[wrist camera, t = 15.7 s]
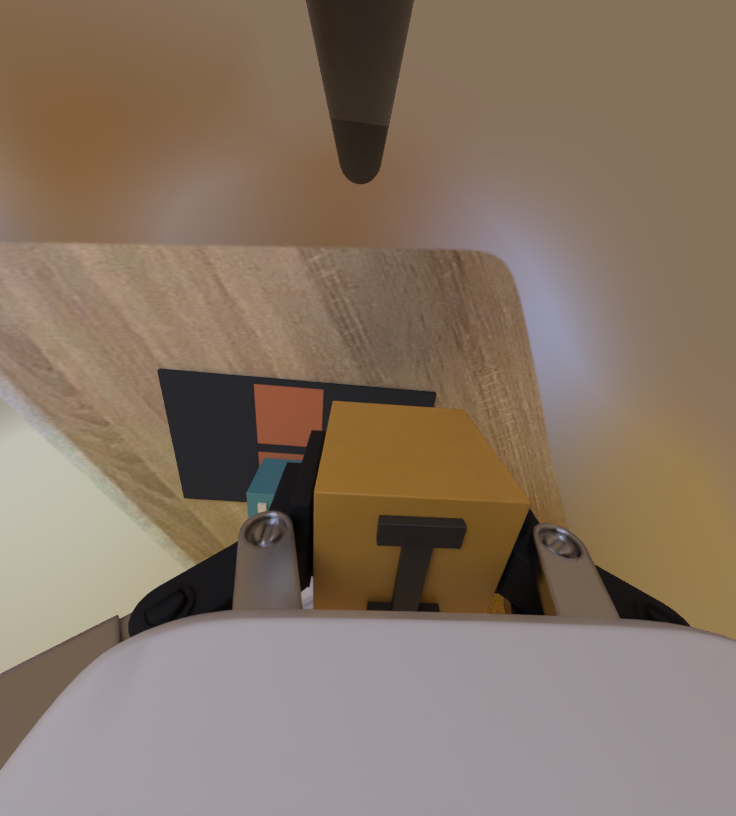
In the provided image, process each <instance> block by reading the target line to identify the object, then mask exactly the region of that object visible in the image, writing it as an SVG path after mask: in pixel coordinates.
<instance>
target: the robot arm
mask: <svg viewBox="0 0 736 816" xmlns="http://www.w3.org/2000/svg"><path fill="white" fill-rule="evenodd" d="M325 436H326V431H321V430H311V433H310V436H309V440H308V443H307V446H306V450H305V453H304V456H303V460H302V463H296V462H287V464H286V466H285V468H284V471H283V474H282V476H281V479H280V482H279V484H278V487H277V490H276V492H275V495H274V498H273V500H272V503H271V506H270V508H269V511H264V512H260V513H257V514H255V515H253V516H251V517H250V518H249V519H248V520H246V521H245V522H244V524H243V525H242V527H241V528H240V532H239V537H238V542H236V543H234V544H232V545H231V546H229V547H227V548H225V549H224V550H222V551H220V552H218V553H217V554H215V555H213V556H211V557H210V558H208V559H206V560H204V561H203V562H201V563H199V564H197V565H196V566H194V567H192V568H190V569H188V570H187V571H185V572H183V573H181V574H180V575H178V576H176V577H174V578H173V579H171V580H169V581H167V582H166V583H164V584H162V585H160V586H159V587H157V588H156V589H154V590H153V591H151V592H150V593H149V594H147V595H146V596H145V597H144V598H143V599H142V600H141V601H140V602H139V603H138V604H137V606H136V607H135V609H134V610H133V612H132V613H130V614H128V615H127V616H124V617H123V618H121V619H119V616H118V615H116V616H114V617H112V618H110V619H108V620H106V621H104V622H102V623H100V624H98V625H96V626H94V627H92V628H90V629H88V630H86V631H84V632H83V633H80V634H78V635H76V636H74V637H72V638H70V639H68V640H66V641H64V642H62V643H60V644H58V645H56V646H54V647H52V648H50V649H49V650H47V651H44V652H42V653H40V654H39V655H36V656H35V657H33V658H30V659H29V660H27V661H25V662H23V663H21V664H19V665H17V666H15V667H13V668H11V669H9V670H7V671H5V672H3V673H1V674H0V816H736V640H734V639H732V638H729V637H726V636H723V635H720V634H716V633H712V632H709V631H704V630H701V629H697V628H694V627H691V626H690V625H689V624H688V623H687V622H686V621H685V620H684V619H683V618H682V617H681V616H680V615H678V614H677V613H676V612H675V611H674V610H672V609H671V608H669V607H668V606H666V605H665V604H663V603H662V602H660V601H658V600H656V599H655V598H653V597H651V596H649V595H647V594H646V593H644V592H642V591H641V590H639V589H637V588H635V587H633V586H632V585H630V584H628V583H626V582H625V581H623V580H621V579H619V578H617V577H616V576H614V575H612V574H610V573H609V572H607V571H605V570H603V569H602V568H600V567H598V566H596V565H594V563H593V561H592V559H591V557H590V555H589V552H588V551H587V548H586V547H585V546H584V544H583V542H582V541H581V540H580V539H579V538H578V537H577V536H575V535H574V534H572V533H571V532H570V531H568V530H566V529H564V528H562V527H560V526H557V525H554V524H549V523H541V524H540V523H539V522H538V521H537V519H536V518H535V516H534V514H533V512H532V511H531V509H530V508H529V511H528V513H527V516H526V518H525V520H524V523H523V525H522V528H521V530H520V532H519V535H518V537H517V540H516V542H515V545H514V547H513V549H512V552H511V554H510V557H509V559H508V561H507V564H506V566H505V569H504V571H503V574H502V576H501V578H500V581H499V583H498V586H497V588H496V590H495V593H498V594H500V595H501V596H503V597H504V609H505V614H484V613H449V612H413V611H370V610H324V609H303V607H302V598H301V592H302V591H303V590H305V589H306V587H310V582H311V576H313V539H314V489H315V484H316V480H317V475H318V470H319V465H320V460H321V456H322V451H323V446H324V441H325Z"/></svg>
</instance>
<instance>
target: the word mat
mask: <svg viewBox="0 0 736 816" xmlns="http://www.w3.org/2000/svg"><path fill="white" fill-rule="evenodd" d="M157 371H158V376H159V380H160V385H161V390H162V395H163V399H164V404H165V409H166V414H167V419H168V423H169V428H170V433H171V438H172V442H173V447H174V452H175V457H176V461H177V466H178V471H179V476H180V480H181V485H182V490H183V495H184V498H190V499H207V500H224V501H240V502H247V495H246V493H247V491H248V489H249V487H250V485H251V483H252V481H253V479H254V477H255V475H256V473H257V471H258V469H259V467H260V465H261V463H262V461H263V459H264V458H271V459H286V460H300V461H302V460H303V456H304V453H305V450H306V446H307V443H308V440H309V436H310V433H311V430H321V431H327V427H328V422H329V417H330V412H331V407H332V403H333V401H344V402H359V403H374V404H389V405H403V406H418V407H433V406H434V402H435V397H436V393H435V392H425V391H414V390H402V389H390V388H379V387H367V386H355V385H344V384H332V383H320V382H308V381H297V380H285V379H273V378H262V377H250V376H238V375H227V374H215V373H203V372H191V371H180V370H168V369H159V370H157Z"/></svg>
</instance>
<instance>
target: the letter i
mask: <svg viewBox="0 0 736 816" xmlns="http://www.w3.org/2000/svg"><path fill="white" fill-rule="evenodd" d="M530 506H531V501H530V500H529V499H528V497H527V496H526V494H525V493H524V492H523V490H522V489H521V488H520V486H519V485H518V483H517V482H516V481H515V479H514V478H513V477H512V475H511V474H510V472H509V471H508V470H507V468H506V467H505V465H504V464H503V463H502V461H501V460H500V459H499V457H498V456H497V454H496V453H495V452H494V450H493V449H492V448H491V446H490V445H489V443H488V442H487V441H486V439H485V438H484V437H483V435H482V434H481V432H480V431H479V430H478V428H477V427H476V425H475V424H474V423H473V421H472V420H471V419H470V417H469V416H468V414H467V413H466V412H465V410H463V409H448V408H433V407H418V406H403V405H389V404H374V403H359V402H344V401H333V403H332V407H331V412H330V417H329V422H328V427H327V431H326V436H325V441H324V446H323V451H322V456H321V460H320V465H319V470H318V475H317V480H316V484H315V489H314V539H313V609H324V610H370V611H413V612H449V613H484V614H486V612H487V610H488V607H489V605H490V603H491V600H492V598H493V595H494V593H495V590H496V588H497V586H498V583H499V581H500V578H501V576H502V574H503V571H504V569H505V566H506V564H507V561H508V559H509V557H510V554H511V552H512V549H513V547H514V545H515V542H516V540H517V537H518V535H519V532H520V530H521V528H522V525H523V523H524V520H525V518H526V516H527V513H528V511H529V508H530Z"/></svg>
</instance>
